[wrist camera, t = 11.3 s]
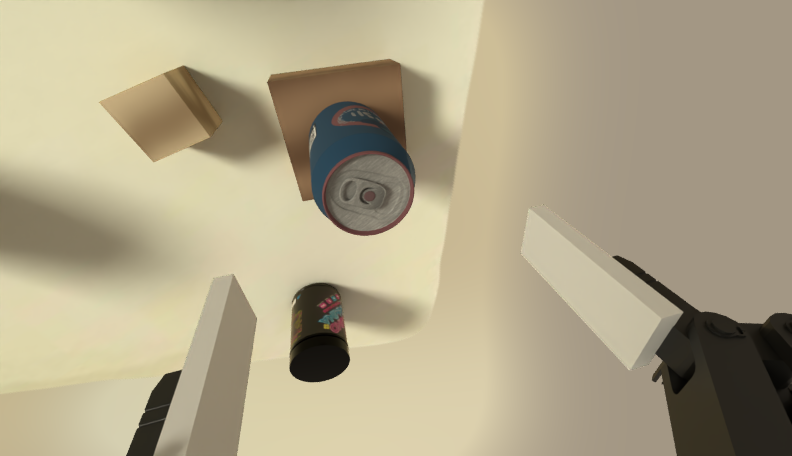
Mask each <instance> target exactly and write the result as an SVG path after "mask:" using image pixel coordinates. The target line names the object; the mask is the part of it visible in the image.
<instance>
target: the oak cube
mask: <svg viewBox="0 0 792 456" xmlns="http://www.w3.org/2000/svg"><path fill="white" fill-rule="evenodd" d="M99 103H100V104H101V105H102V106H103V107H104V108H105V109H106V110H107V112H108V113H109V114H110V115H111V116H112V117H113V118H114V119H115V120H116V121H117V123H118V124H119V125H120V126H121V127H122V128H123V129H124V130H125V131H126V132H127V134H128V135H129V136H130V137H131V138H132V139H133V140H134V141H135V142H136V143H137V145H138V146H139V147H140V148H141V149H142V150H143V151H144V152H145V153H146V154H147V156H148V157H149V158H150V159H151V160H152V161H153V162H156V161H158V160H160V159H162V158H165V157H167V156H169V155H171V154H174V153H176V152H178V151H180V150H183V149H185V148H187V147H189V146H192V145H194V144H196V143H198V142H201V141H203V140H205V139H207V138H210V137H211V136H212V134H213V133H214V132H215V131H216V129H217V128H218V127H219V125H220V124H221V123H222V120H221V118H220V117H219V115H218V114H217V112H216V111H215V110H214V108H213V107H212V105H211V104H210V102H209V101H208V100H207V98H206V97H205V95H204V94H203V92H202V91H201V89H200V88H199V87H198V85H197V84H196V82H195V81H194V79H193V78H192V77H191V75H190V74H189V72H188V71H187V69H186V68H185V66H181V67H179V68H176V69H174V70H171V71H169V72H166V73H163V74H161V75H159V76H157V77H154V78H152V79H150V80H148V81H145V82H143V83H141V84H139V85H136V86H134V87H132V88H130V89H127V90H125V91H123V92H120V93H118V94H116V95H114V96H111V97H109V98H107V99H105V100H102V101H100V102H99Z"/></svg>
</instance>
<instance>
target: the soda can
mask: <svg viewBox="0 0 792 456" xmlns="http://www.w3.org/2000/svg"><path fill="white" fill-rule="evenodd" d="M309 155H310V172H311V188H312V194H313V197H314V200H315V202H316V204H317V206H318V208H319V209H320V210H321V212H322V213H323V214H324V215H325V216H326V217H327V218H328V219H330V220H331V221H332V222H333V223H334V224H335V225H336V226H337V227H338V228H340V229H342V230H343V231H345V232H348V233H351V234H354V235H361V236H368V235H376V234H379V233H382V232H385V231H387V230H389V229H391V228H393V227H394V226H396V225H397V224H398V223H399V222H400V221H401V220H402V219H403V218H404V217H405V216H406V214H407V213H408V211H409V209H410V207H411V205H412V202H413V198H414V187H415V169H414V165H413V163H412V160H411V158H410V156H409V155H408V153H407V152H406V150H405V149H404V148H403V147H402V145H401V144H400V143H399V141H398V140H397V139H396V138H395V136H394V135H393V134H392V132H391V131H390V130H389V129H388V127H387V126H386V125H385V123H384V122H383V121H382V120H381V118H380V117H379V116H378V115H377V114H376V113H375V112H374V111H373V110H372V109H371V108H369V107H367V106H365V105H363V104H361V103H357V102H351V101H344V102H338V103H335V104H332V105H330V106H328V107H327V108H325V109H324V110H322V111H321V112H320V113H319V114H318V115H317V117H316V118H315V120H314V121H313V123H312V126H311V128H310V132H309Z"/></svg>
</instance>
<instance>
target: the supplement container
mask: <svg viewBox="0 0 792 456" xmlns="http://www.w3.org/2000/svg"><path fill="white" fill-rule="evenodd" d="M349 362H350V357H349V348H348V343H347V337H346V330H345V323H344V316H343V308H342V301H341V296H340V294H339V292H338V291H337V290H336V289H335V288H334V287H332V286H330V285H327V284H322V283H316V284H311V285H308V286H305V287H303V288H302V289H300V290H299V291H298V292H297V293H296V294H295V296H294V298H293V301H292V320H291V348H290V372H291V374H292V375H293V376H294V377H295V378H297V379H299V380H301V381H305V382H321V381H326V380H329V379H332V378H334V377H336V376H338V375H339V374H341V373H342V372H343V371H344V370H345V369H346V368H347V367H348V365H349Z"/></svg>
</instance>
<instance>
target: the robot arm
mask: <svg viewBox="0 0 792 456" xmlns="http://www.w3.org/2000/svg"><path fill="white" fill-rule="evenodd" d="M521 254H522V255H523V257H524V258H525V259H526V260H527V261H528V262H529V263H530V264H531V265H532V266H533V267H534V268H535V269H536V271H538V273H539V274H540V275H541V276H542V277H543V278H544V279H545V280H546V281H547V282H548V283H549V284H550V285H551V287H552V288H553V289H554V290H555V291H556V292H557V293H558V294H559V295H560V296H561V297H562V298H563V299H564V301H565V302H566V303H567V304H568V305H569V306H570V307H571V308H572V309H573V310H574V311H575V312H576V313H577V314H578V316H579V317H580V318H582V320H583V321H584V322H585V323H586V324H587V325H588V326H589V327H590V329H591V330H592V331H593V332H594V333H595V334H596V335H597V336H598V337H599V338H600V339H601V340H602V341H603V342H604V344H605V345H606V346H607V347H608V348H609V349H610V350H611V351H612V352H613V353H614V354H615V355H616V356H617V358H618V359H619V360H620V361H621V362H622V363H623V364H624V365H625V366H626V367H627V368H628V369H629V370H633V369H636V368H639V367H643V366H646V365H648V364H649V363H650V362H651V360H652V359H653V357H654V355H655V354H656V355H657V356H658V357H660V358H661V359H662V360H663V361H662V363H661V364H660V366H659V367H658V369H657V370H656V371H655V373H654V374H653V377H652V381H654V382H656V381H657V380H658V379H659V377H660V376H661V374H662V379H663V382H662V384H663V385H664V389H665V394H666V400H667V405H668V410H669V416H670V421H671V426H672V431H673V437H674V442H675V448H676V453H677V456H792V314H787V313H775V314H773V315H772V316H770V317H769V318H768V319H767V320H766V322H765V323H764V324H751V323H748V324H747V323H737V322H736V321H734V320H732V319H730V318H728V317H726V316H723V315H720V314H717V313H712V312H699V311H698V310H697V309H695V308H694V307H692V306H691V305H690V304H688V303H687V302H686V301H684V300H683V299H682V298H680V297H679V296H678V295H676V294H675V293H673V292H672V291H671V290H669V289H668V288H667V287H665V286H664V285H663V284H661V283H660V282H659V281H656V279H654V278H653V277H651V276H650V275H649V274H646V273H645V271H644V270H642V269H641V268H640V267H638V266H637V265H635V264H634V263H633V262H631V261H628V260H626V259H624V258H622V257H620V256H613V257H611V256H610V255H609V254H607V253H606V252H605V251H603V250H602V249H601V248H600V247H598V246H597V245H596V244H594V243H593V242H592V241H590V240H589V239H588V238H587V237H585V236H584V235H583V234H581V233H580V232H579V231H577V230H576V229H575V228H574V227H572V226H571V225H570V224H568V223H567V222H566V221H564V220H563V219H562V218H561V217H559V216H558V215H557V214H555V213H554V212H553V211H552V210H550V209H549V208H547V207H546V206H545V205H540V206H535V207H531V208H529V211H528V217H527V222H526V227H525V233H524V238H523V244H522V249H521ZM256 322H257V318H256V316H255V314H254V312H253V310H252V308H251V306H250V304H249V302H248V301H247V299H246V297H245V295H244V293H243V291H242V289H241V287H240V285H239V283H238V282H237V280H236V278H235V276H234V274H230V275H226V276H221V277H217V278H213V280H212V283H211V286H210V289H209V292H208V295H207V298H206V301H205V304H204V307H203V310H202V313H201V316H200V319H199V322H198V325H197V328H196V331H195V334H194V337H193V340H192V343H191V346H190V349H189V351H188V354H187V357H186V360H185V363H184V366H183V369H182V370H179V371H176V372H172V373H168V374H165V375H164V376H163V378H162V379H161V380H160V382H159V383H158V384H157V386H156V387H155V388H154V390H153V391H152V393H151V395H150V398H149V400H148V403H147V405H146V408H145V413H143V415H142V418H141V420H140V423H139V428H138V429H137V430H136V433H135V435H134V438H133V440H132V443H131V445H130V448H129V450H128V453H127V455H126V456H237V451H238V444H239V437H240V431H241V423H242V417H243V410H244V403H245V397H246V389H247V383H248V376H249V369H250V363H251V356H252V349H253V342H254V335H255V328H256Z"/></svg>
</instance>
